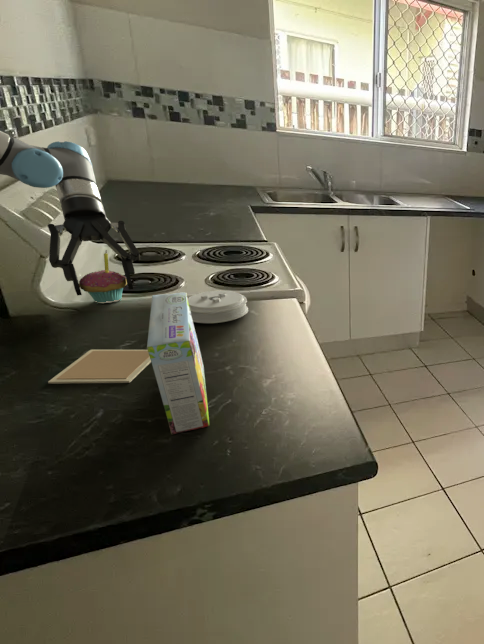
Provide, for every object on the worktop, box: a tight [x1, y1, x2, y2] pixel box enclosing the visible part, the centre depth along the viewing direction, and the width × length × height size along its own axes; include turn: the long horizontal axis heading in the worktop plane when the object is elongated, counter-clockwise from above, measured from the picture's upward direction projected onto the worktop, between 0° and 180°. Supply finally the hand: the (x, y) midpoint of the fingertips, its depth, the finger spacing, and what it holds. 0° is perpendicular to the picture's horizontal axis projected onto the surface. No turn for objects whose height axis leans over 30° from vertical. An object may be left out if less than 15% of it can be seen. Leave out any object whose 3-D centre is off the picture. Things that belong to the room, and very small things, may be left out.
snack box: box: [146, 291, 210, 436], centre depth 76 cm, size 21×6×15 cm, turn 33°
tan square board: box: [47, 349, 152, 385], centre depth 86 cm, size 12×12×1 cm
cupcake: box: [78, 249, 128, 302], centre depth 108 cm, size 9×8×12 cm
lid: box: [187, 289, 249, 324], centre depth 108 cm, size 13×13×5 cm
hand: (105, 289), depth 107 cm, fingers closed on cupcake, 8 cm apart
